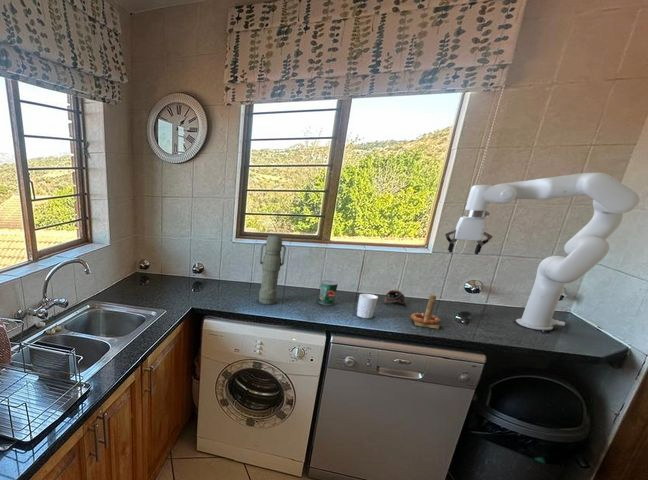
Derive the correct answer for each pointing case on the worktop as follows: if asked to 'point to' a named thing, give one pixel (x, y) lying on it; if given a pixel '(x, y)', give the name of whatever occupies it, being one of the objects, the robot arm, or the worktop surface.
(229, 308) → the worktop surface
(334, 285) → the canned tomato
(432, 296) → the stand
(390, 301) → the brown domed piece
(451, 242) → the robot arm
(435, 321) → the ring
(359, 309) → the white cup
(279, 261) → the grey stone vase
